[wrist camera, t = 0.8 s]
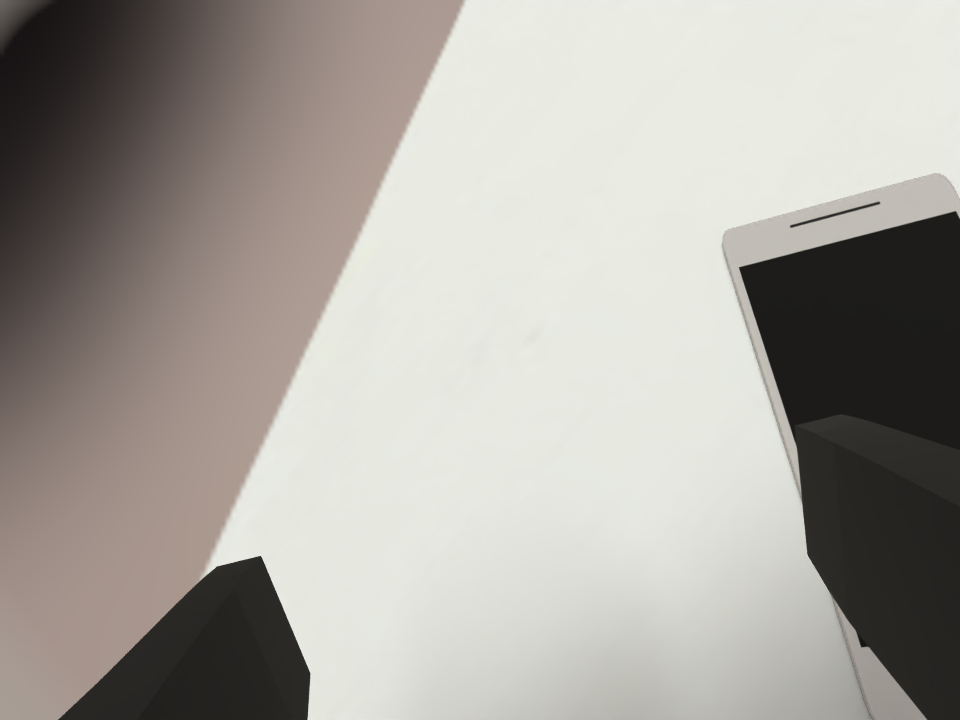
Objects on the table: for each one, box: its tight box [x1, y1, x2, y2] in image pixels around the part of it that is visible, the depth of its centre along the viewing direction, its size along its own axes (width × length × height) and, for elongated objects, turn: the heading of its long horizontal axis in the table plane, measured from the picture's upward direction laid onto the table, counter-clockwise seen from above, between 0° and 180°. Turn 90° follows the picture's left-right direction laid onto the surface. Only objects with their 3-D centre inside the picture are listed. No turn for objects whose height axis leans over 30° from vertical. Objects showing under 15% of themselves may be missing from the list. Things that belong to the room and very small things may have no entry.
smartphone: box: [723, 173, 960, 720], centre depth 21 cm, size 7×16×1 cm, turn 8°
